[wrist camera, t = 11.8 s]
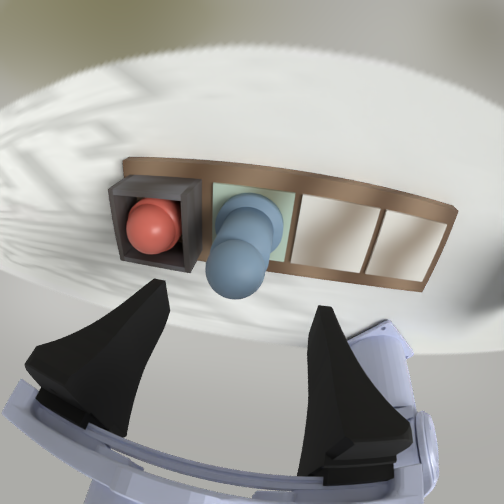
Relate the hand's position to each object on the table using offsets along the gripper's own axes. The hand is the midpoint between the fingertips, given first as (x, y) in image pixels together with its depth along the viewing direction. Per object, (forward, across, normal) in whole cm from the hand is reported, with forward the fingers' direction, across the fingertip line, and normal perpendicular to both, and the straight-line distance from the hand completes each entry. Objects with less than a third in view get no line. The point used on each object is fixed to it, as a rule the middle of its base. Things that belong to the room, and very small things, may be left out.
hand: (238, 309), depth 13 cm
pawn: (+8, +1, 0) cm, 8 cm away
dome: (+8, +7, 0) cm, 11 cm away
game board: (+9, -2, 0) cm, 10 cm away
